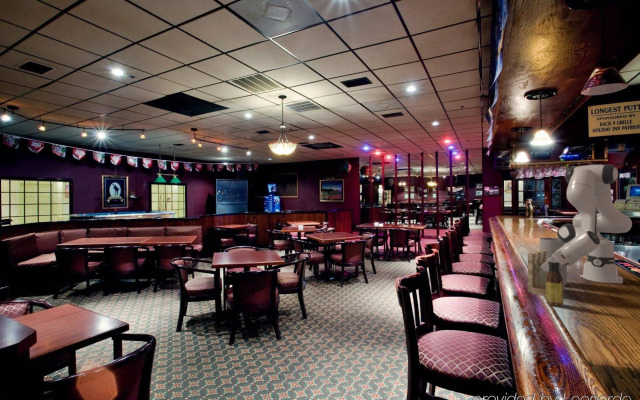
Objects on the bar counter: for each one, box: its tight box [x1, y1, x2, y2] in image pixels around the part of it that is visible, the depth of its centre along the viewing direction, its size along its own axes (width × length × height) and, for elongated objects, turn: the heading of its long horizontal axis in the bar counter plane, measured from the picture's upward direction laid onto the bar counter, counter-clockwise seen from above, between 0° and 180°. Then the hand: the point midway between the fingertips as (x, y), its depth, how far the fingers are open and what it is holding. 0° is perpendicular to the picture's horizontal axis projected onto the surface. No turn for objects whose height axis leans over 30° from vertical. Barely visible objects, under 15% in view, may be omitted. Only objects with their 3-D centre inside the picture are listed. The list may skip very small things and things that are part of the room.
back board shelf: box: [527, 249, 565, 297], centre depth 162 cm, size 18×10×20 cm, turn 125°
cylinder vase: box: [539, 237, 568, 286], centre depth 177 cm, size 12×12×25 cm
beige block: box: [538, 263, 548, 286], centre depth 164 cm, size 5×4×12 cm
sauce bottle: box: [545, 261, 564, 307], centre depth 143 cm, size 7×6×20 cm
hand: (542, 272), depth 164 cm, fingers open, 8 cm apart
